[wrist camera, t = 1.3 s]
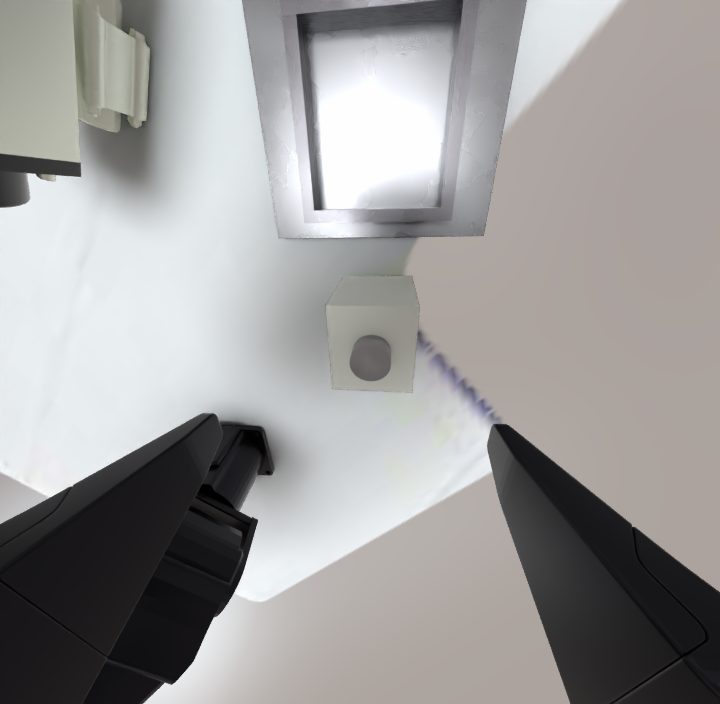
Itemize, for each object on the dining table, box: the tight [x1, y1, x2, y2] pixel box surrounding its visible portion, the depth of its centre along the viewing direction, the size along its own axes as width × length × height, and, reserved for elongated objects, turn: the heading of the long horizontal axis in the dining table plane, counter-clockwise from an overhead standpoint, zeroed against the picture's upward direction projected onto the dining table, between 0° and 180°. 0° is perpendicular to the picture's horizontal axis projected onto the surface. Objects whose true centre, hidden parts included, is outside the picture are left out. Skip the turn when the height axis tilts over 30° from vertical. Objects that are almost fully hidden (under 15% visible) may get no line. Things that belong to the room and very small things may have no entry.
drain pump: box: [325, 276, 420, 393], centre depth 16 cm, size 5×4×7 cm
